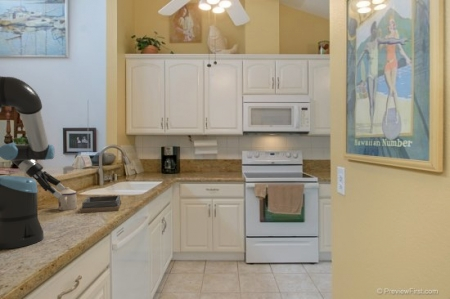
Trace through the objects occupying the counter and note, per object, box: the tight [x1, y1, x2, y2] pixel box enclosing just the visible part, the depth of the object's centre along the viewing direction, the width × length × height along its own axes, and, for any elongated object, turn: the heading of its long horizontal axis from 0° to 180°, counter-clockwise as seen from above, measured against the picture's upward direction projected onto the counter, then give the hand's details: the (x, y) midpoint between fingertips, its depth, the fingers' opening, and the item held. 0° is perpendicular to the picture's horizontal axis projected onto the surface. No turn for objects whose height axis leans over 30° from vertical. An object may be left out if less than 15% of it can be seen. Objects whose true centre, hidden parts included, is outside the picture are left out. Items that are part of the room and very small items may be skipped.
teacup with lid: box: [57, 186, 78, 211], centre depth 153 cm, size 12×9×12 cm
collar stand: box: [80, 194, 122, 214], centre depth 156 cm, size 20×18×5 cm
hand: (63, 194), depth 153 cm, fingers open, 13 cm apart
